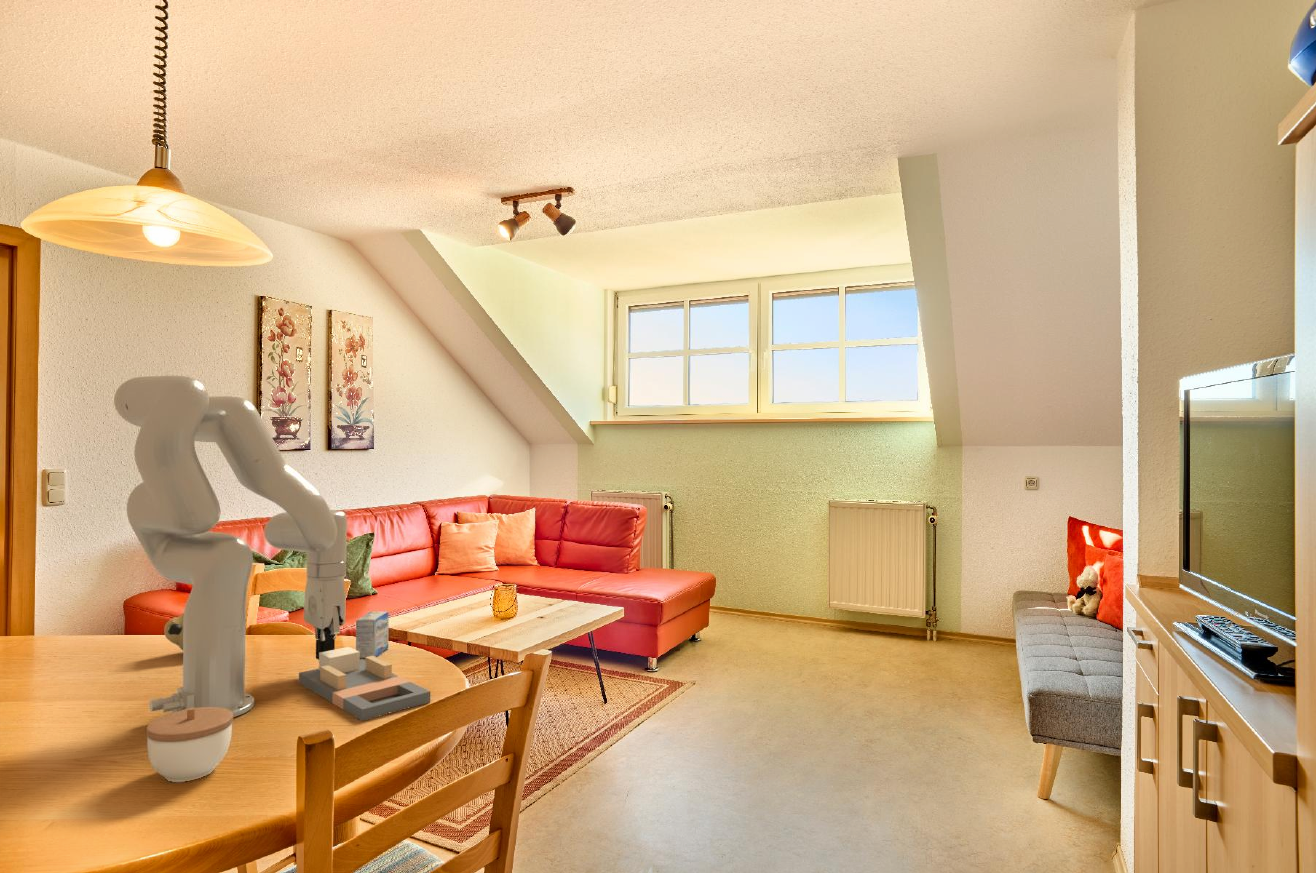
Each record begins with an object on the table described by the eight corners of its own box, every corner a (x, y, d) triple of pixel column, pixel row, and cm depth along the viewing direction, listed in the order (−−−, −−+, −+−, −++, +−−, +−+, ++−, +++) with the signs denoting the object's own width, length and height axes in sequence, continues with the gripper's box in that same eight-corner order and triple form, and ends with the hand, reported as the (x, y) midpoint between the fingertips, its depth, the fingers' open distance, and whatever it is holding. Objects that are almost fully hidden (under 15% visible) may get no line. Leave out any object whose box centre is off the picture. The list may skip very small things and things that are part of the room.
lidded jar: (138, 771, 109) (139, 707, 109) (221, 750, 116) (222, 690, 116) (154, 798, 101) (155, 728, 101) (241, 773, 109) (242, 709, 109)
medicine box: (375, 658, 164) (375, 619, 164) (355, 658, 164) (355, 619, 164) (388, 648, 172) (389, 611, 172) (369, 648, 172) (370, 610, 172)
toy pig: (163, 652, 166) (164, 604, 166) (225, 644, 173) (226, 598, 173) (163, 664, 158) (164, 613, 158) (229, 655, 165) (229, 607, 165)
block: (329, 675, 146) (329, 657, 146) (318, 669, 150) (319, 652, 150) (359, 669, 151) (359, 651, 151) (348, 663, 154) (348, 646, 154)
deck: (362, 720, 129) (362, 694, 129) (298, 682, 148) (299, 660, 148) (430, 702, 139) (430, 677, 139) (362, 668, 157) (362, 647, 157)
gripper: (293, 567, 157) (291, 654, 157) (323, 577, 147) (322, 670, 147) (329, 563, 163) (327, 647, 163) (360, 572, 152) (359, 662, 152)
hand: (325, 658), depth 155 cm, fingers closed
